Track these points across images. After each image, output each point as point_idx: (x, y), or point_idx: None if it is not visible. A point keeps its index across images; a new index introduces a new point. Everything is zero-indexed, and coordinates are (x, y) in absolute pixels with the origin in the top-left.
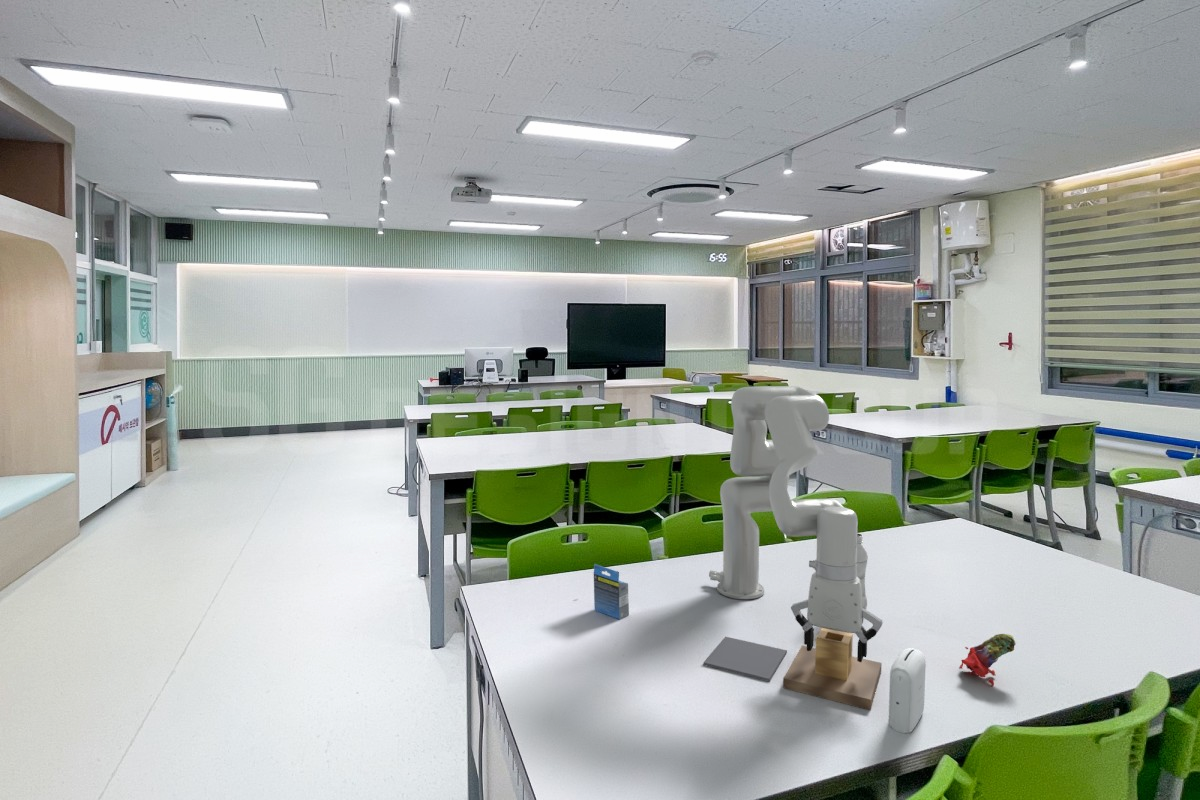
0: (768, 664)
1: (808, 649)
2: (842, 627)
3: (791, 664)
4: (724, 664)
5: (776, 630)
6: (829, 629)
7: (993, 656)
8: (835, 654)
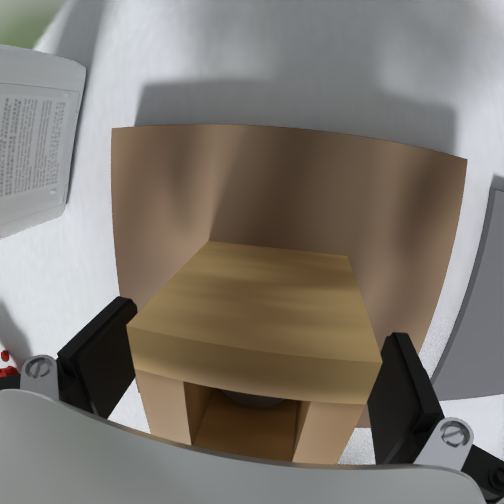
0: (493, 295)
1: (399, 336)
2: (87, 448)
3: (439, 292)
4: None
5: None
6: None
7: None
8: (234, 297)
